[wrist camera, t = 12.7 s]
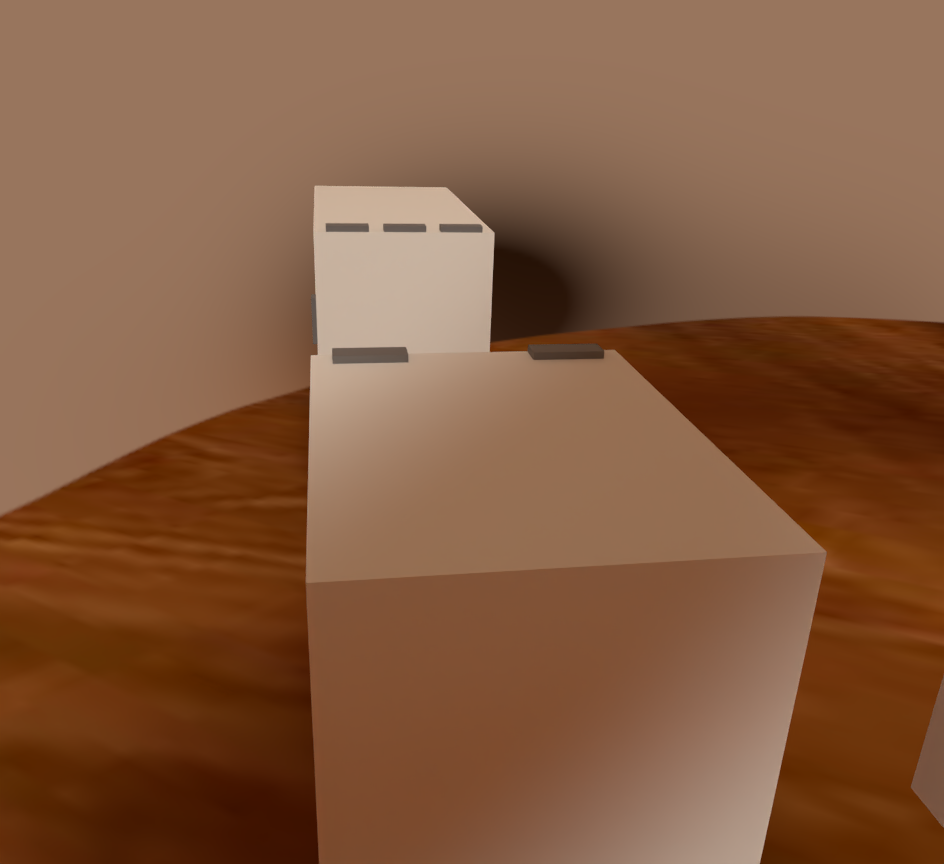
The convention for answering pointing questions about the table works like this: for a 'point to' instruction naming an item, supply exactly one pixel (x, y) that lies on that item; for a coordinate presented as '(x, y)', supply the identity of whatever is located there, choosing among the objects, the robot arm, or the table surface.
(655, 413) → the stub
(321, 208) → the white slotted block
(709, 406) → the table surface
